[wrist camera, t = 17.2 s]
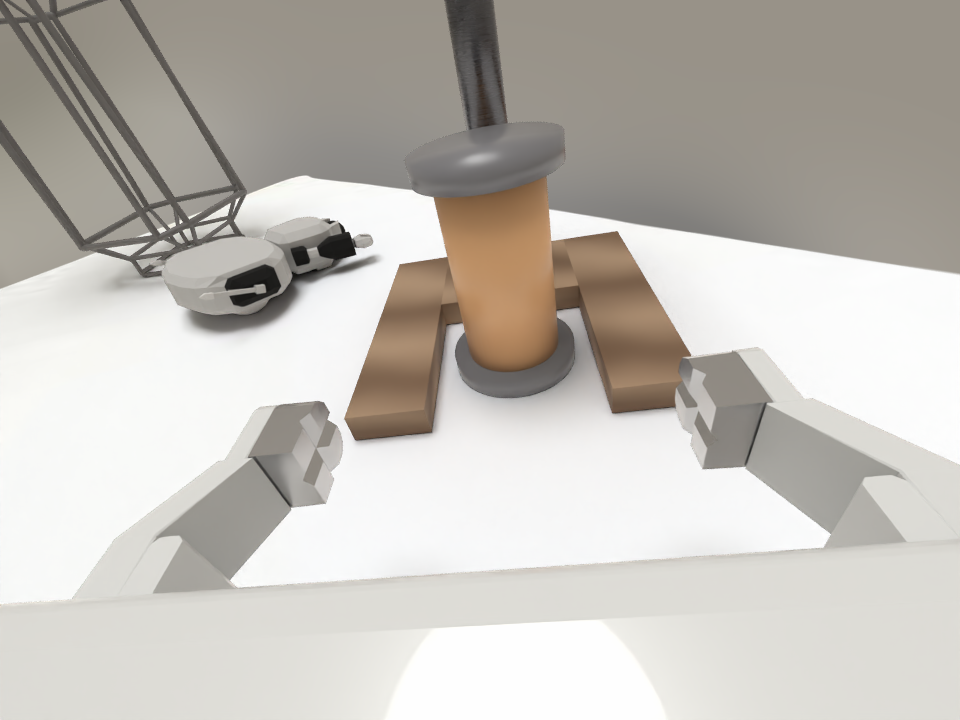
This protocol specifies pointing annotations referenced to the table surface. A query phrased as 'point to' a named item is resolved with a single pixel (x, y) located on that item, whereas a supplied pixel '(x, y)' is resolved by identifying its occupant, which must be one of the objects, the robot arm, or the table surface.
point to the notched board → (578, 283)
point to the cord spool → (500, 251)
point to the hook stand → (477, 61)
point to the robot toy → (255, 265)
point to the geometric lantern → (9, 144)
